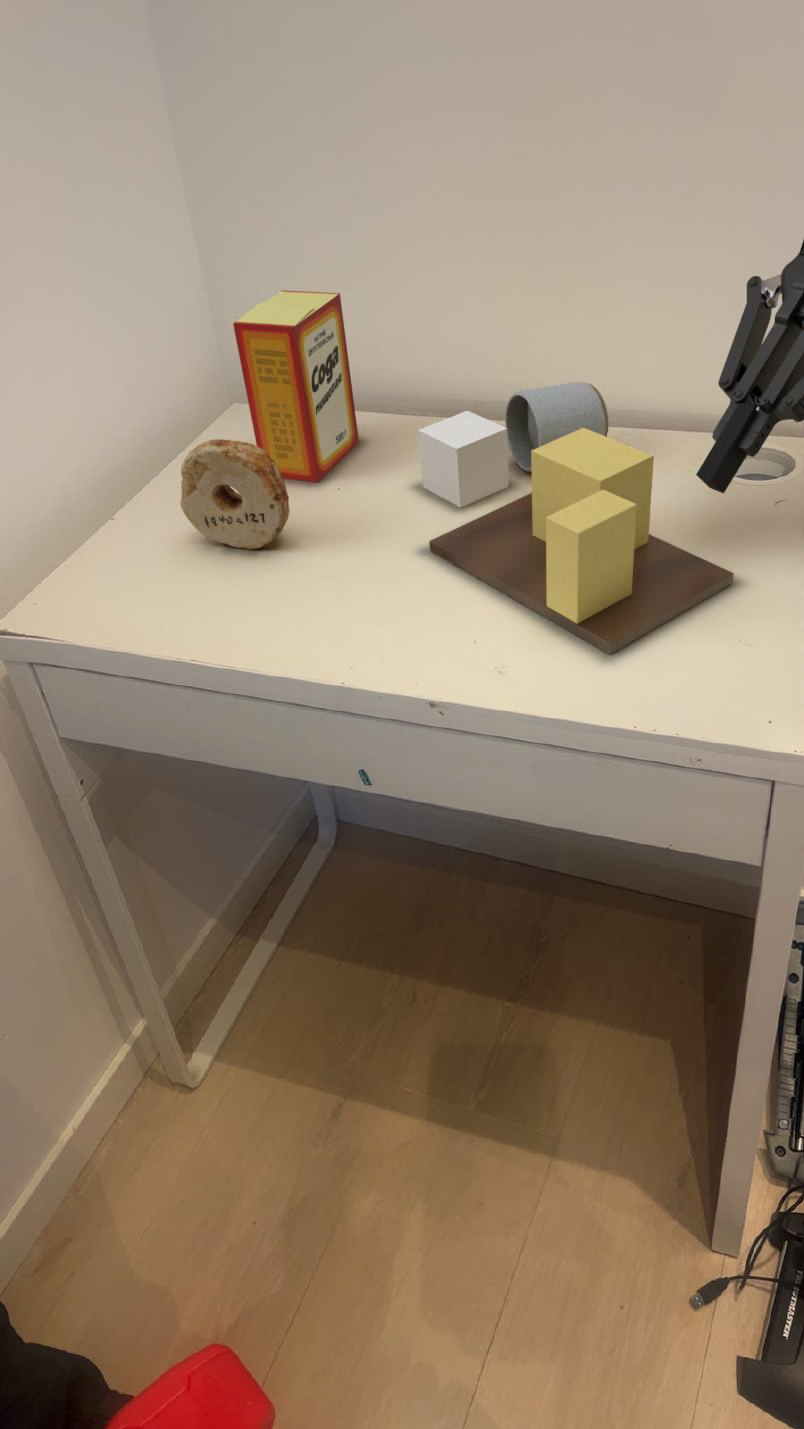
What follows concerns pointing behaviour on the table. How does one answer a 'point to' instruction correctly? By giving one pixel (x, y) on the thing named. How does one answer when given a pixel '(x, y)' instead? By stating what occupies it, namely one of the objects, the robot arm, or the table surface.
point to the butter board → (518, 569)
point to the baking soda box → (298, 381)
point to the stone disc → (234, 493)
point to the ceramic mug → (551, 417)
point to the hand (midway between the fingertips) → (710, 484)
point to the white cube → (464, 458)
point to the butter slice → (590, 555)
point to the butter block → (589, 477)
